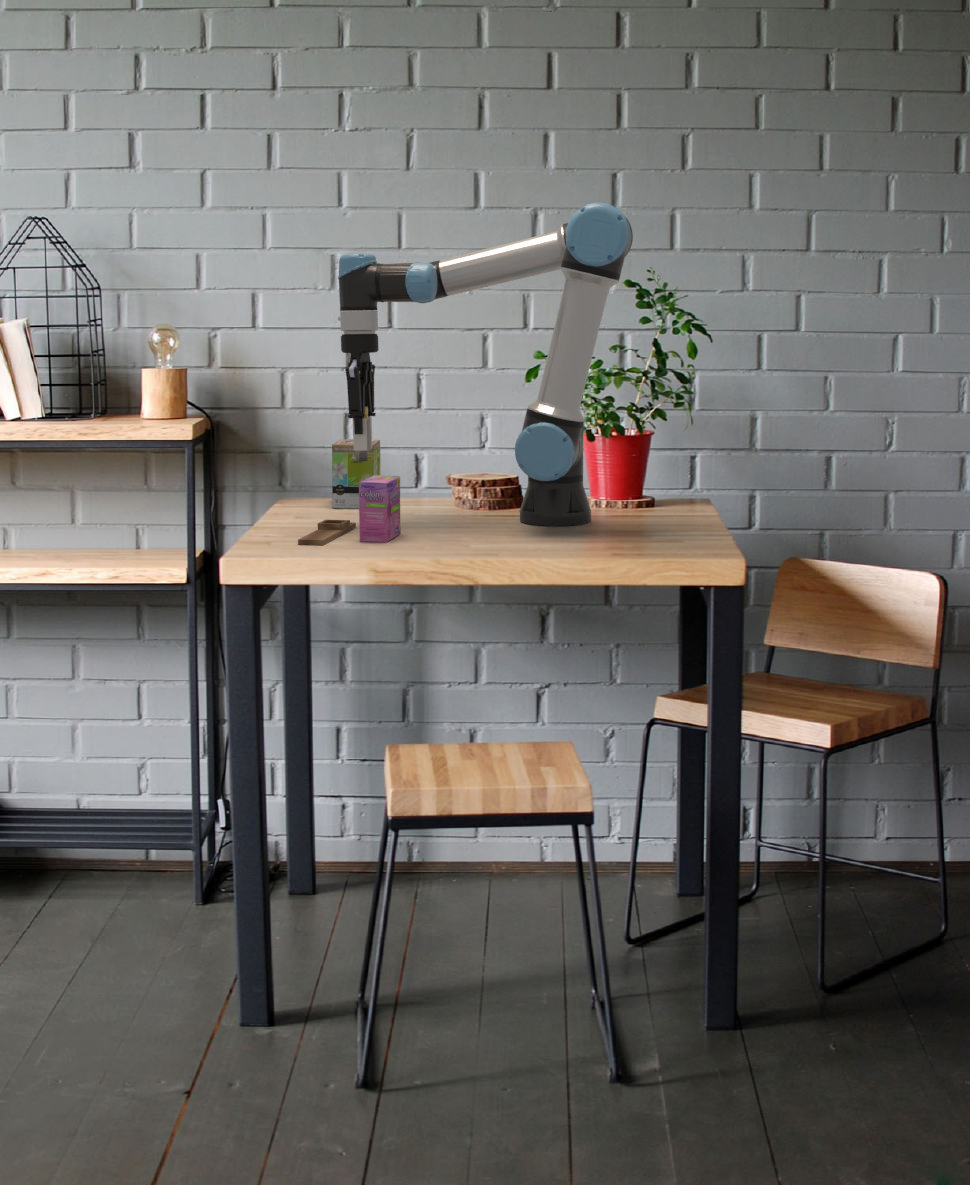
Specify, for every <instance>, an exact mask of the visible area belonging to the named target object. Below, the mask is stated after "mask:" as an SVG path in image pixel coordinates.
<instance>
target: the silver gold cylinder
mask: <svg viewBox="0 0 970 1185" xmlns="http://www.w3.org/2000/svg"><path fill="white" fill-rule="evenodd" d="M364 418H366V420H367V422H368V407H367V406H365V417H364ZM355 460H356V461H359V462H364V461H368V431H367V451H355Z"/></svg>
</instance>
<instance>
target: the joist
mask: <svg viewBox="0 0 970 1185" xmlns="http://www.w3.org/2000/svg"><path fill="white" fill-rule="evenodd" d="M356 528H357V523H356V522H351V520H350V519H323V520H322V521H320V522H318V523H317V529H316V530H314V531H312V532H310V533H308V534H306V535H305V536H302V537H300V538H298V539H297V544H298V545H300V546H301V545H302V546H324V545H326V544H328V543H330V542H332V541H334V540H336V539H338V538H339V537H341V536H343V535H345V534H347V533H348V532H350V531H353V530H354V529H356Z"/></svg>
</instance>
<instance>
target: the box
mask: <svg viewBox="0 0 970 1185" xmlns="http://www.w3.org/2000/svg"><path fill="white" fill-rule="evenodd" d="M358 512H359V514H358V515H359V516H358V518H359V519H358V520H359V522H358V523H359V525H358V526H359V542H360V543H374V544H375V543H379V544H380V543H383V544H387V543H388V542H390V541H391V540H393V539H395V538H396V537H398V536H399V535H401V476H399V475H381V474H380V475H374V476H372V477H370V478H368V479H365V480H363V481H361V482H359V508H358Z"/></svg>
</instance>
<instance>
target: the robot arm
mask: <svg viewBox="0 0 970 1185" xmlns="http://www.w3.org/2000/svg"><path fill="white" fill-rule="evenodd" d="M633 233H634V232H633V228H632V226H631V223H630V221H629V219H628V218H627V217H626V216H625V215H624V213H623V212H622V211H621V210H620V208H618V207H616V206H615V205H612V204H609V203H606V202H592V203H588V204H586V205H584V206H582V207H580V208H579V209H578V210H576V211H575V212H574V213H573V215H572V216H571V218H570V219H569V221H568V222H566V223H563V224H561V225H560V227H559V228H558V230H556V231H551V232H547V233H544V234H539V235H535V236H532V237H528V238H527V237H526V238H523V239H520V240H516V241H511V242H508V243H504V244H499V245H495V246H492V247H491V246H490V247H487V248H484V249H479V250H476V251H472V252H467V253H464V254H459V255H455V256H451V257H448V258H444V259H440V260H435V261H431V262H406V263H404V262H403V263H402V262H401V263H379V262H377V258H376V255H374V254H373V253H344V254H342V255H341V256H340V257H339V259H338V276H337V280H338V292H339V295H338V296H339V315H338V317H337V320H338V321H339V322H340V331H341V332H343V333H342V334H341V336H340V351H341V352H342V353H343V354H349V355H350V357H349V362H348V366H346V367H345V371H344V372H345V376H346V384H347V386H346V387H347V402H348V403H347V404H348V415H347V418H348V419H352V439H353V446H354V451H367V431H368V449H372V440H373V424H372V420H373V419H372V417H376V412H375V369H376V365H375V364H373V362H372V361H371V355H370V354H371V353H372V354H373V353H377V352H379V335H378V334H377V333H376V331H378V330H379V318H378V316H379V315H378V303H418V304H427V303H428V304H429V303H431V302H434V301H435V300H438V299H443V298H446V297H450V296H454V295H459V294H462V293H463V294H464V293H467V292H471V291H475V290H479V289H483V288H488V287H492V286H496V285H499V284H505V283H509V282H513V281H518V280H520V279H521V280H522V279H526V278H529V277H534V276H539V275H542V274H547V273H551V272H555V271H559V270H561V272H562V273H563V275H564V278H565V282H564V286H563V290H562V294H561V298H560V302H559V307H558V311H557V316H556V320H555V324H554V329H553V333H552V337H551V341H550V345H549V349H548V354H547V357H546V360H545V365H544V368H543V369H544V370H543V374H542V376H541V377H542V378H541V382H540V387H539V391H538V395H537V398H536V400H535V401H533V402H532V403H530V404H528V406H527V409H526V413H525V416H524V420H523V425H522V428H521V432H520V433H519V435H518V436H517V438H516V441H515V445H514V455H515V456H514V457H515V460H516V463H517V465H518V467H519V469H520V470H521V471H522V472H523V473H524V474H525V475H526V476H527V487H526V491H525V493H524V496H523V500H522V502H521V505H520V509H519V521H520V522H521V523H523V524H527V525H535V526H536V525H537V526H550V527H551V526H552V527H553V526H554V527H556V526H558V527H559V526H563V527H565V526H575V525H576V526H577V525H584V524H588V523H590V522H591V521H592V509H591V506H590V503H589V499H588V496H587V494H586V490H585V487H584V431H585V418H584V416H583V415H582V413H581V411H580V408H581V403H582V399H583V396H584V392H585V388H586V383H587V379H588V376H589V371H590V367H591V363H592V359H593V355H594V352H595V351H594V350H595V347H596V343H597V339H598V335H599V330H600V327H601V322H602V320H603V315H604V310H605V306H606V303H607V298H608V294H609V290H610V289H611V288H612V287H613V286H615V285H618V283H620V279H621V278H620V277H621V274H622V269H623V267H624V262H625V260H626V259H625V258H626V257H627V255H628V254H629V252H630V250H631V248H632V246H633V239H634V234H633ZM365 406H367V407H368V422H367V420H366V418H364V417H365Z"/></svg>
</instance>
